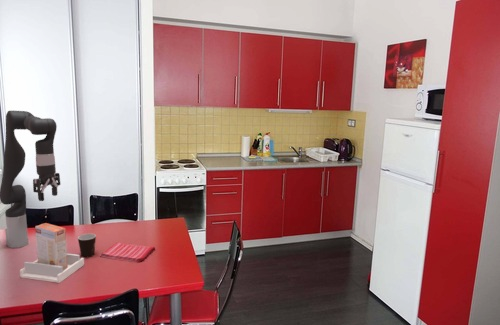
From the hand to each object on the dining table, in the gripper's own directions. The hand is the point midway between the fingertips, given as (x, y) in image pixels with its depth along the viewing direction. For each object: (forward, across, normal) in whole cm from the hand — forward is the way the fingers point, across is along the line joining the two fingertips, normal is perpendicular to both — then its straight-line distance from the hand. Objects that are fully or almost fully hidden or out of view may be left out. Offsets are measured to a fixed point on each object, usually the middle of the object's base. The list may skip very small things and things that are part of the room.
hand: (48, 198), depth 169 cm
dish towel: (+37, -27, +24) cm, 51 cm away
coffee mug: (+36, -21, +5) cm, 42 cm away
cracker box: (+35, 0, 0) cm, 35 cm away
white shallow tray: (+36, 0, 0) cm, 36 cm away
